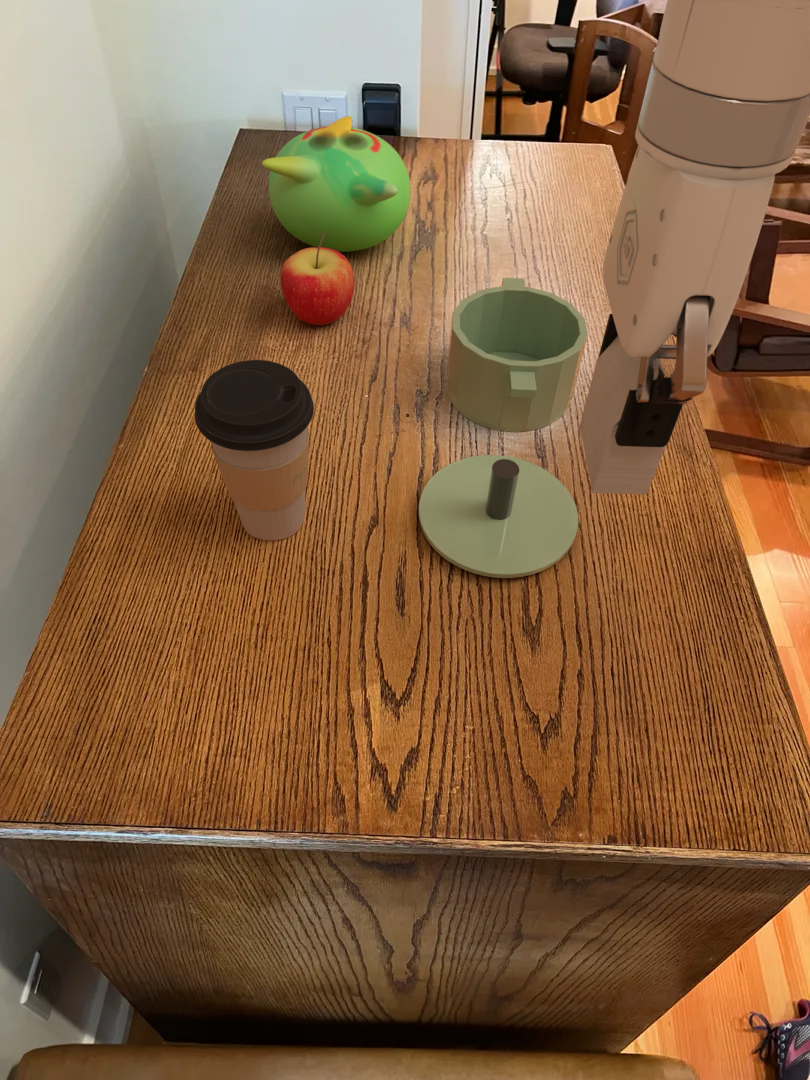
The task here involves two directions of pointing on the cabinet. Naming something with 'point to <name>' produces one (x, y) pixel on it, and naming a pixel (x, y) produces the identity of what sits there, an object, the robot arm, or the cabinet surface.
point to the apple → (317, 284)
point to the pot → (514, 356)
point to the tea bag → (615, 427)
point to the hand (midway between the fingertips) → (630, 401)
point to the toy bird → (339, 187)
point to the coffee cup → (260, 442)
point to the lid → (498, 516)
